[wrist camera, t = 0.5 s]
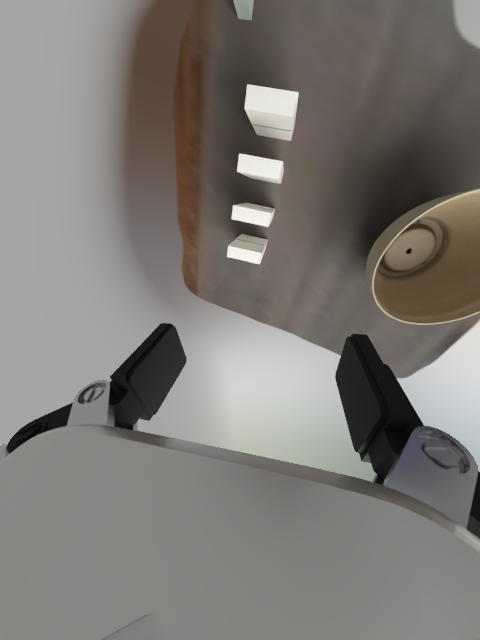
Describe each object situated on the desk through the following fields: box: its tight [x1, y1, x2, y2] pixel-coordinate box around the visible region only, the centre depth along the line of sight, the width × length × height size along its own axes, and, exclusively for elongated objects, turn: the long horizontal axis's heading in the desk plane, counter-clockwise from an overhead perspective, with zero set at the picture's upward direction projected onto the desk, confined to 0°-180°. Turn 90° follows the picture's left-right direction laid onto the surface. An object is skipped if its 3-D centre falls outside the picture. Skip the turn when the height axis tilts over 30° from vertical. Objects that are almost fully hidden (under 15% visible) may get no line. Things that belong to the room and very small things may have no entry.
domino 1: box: [244, 84, 299, 141], centre depth 22 cm, size 2×5×10 cm, turn 81°
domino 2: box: [237, 153, 284, 184], centre depth 25 cm, size 2×5×10 cm, turn 81°
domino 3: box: [231, 203, 275, 227], centre depth 28 cm, size 2×5×10 cm, turn 81°
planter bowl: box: [366, 188, 480, 325], centre depth 26 cm, size 16×16×11 cm
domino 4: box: [227, 234, 268, 264], centre depth 31 cm, size 2×5×10 cm, turn 81°
